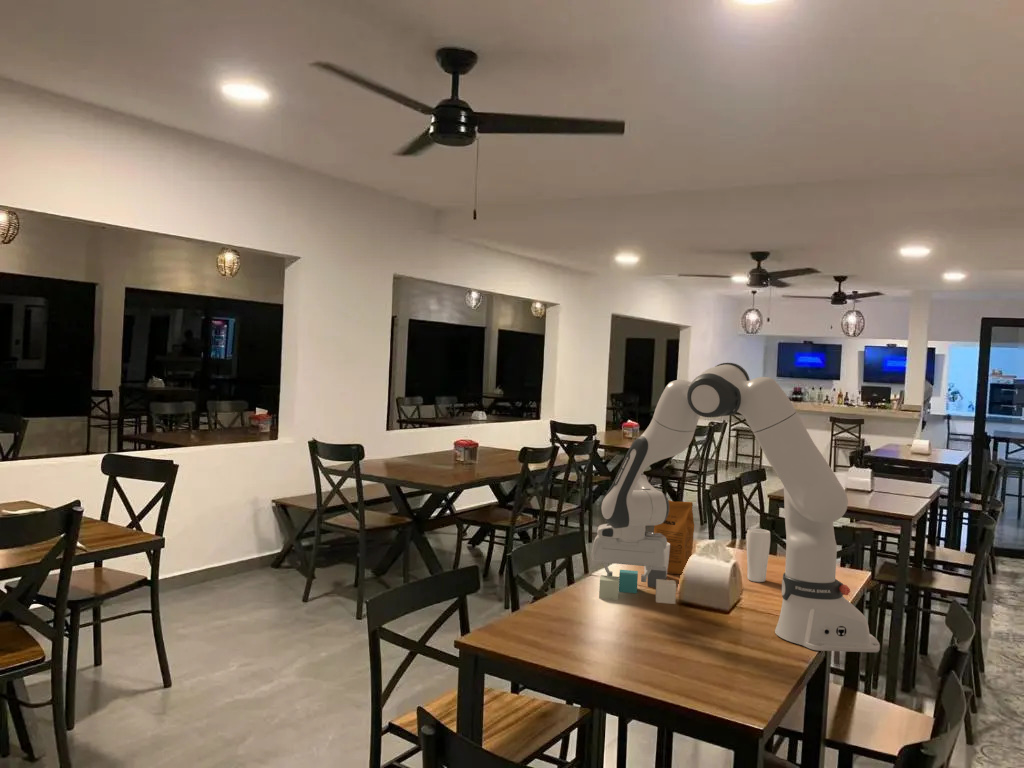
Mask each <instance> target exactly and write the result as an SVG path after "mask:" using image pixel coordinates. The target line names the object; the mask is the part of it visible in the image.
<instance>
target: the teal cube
mask: <svg viewBox="0 0 1024 768" xmlns="http://www.w3.org/2000/svg"><path fill="white" fill-rule="evenodd" d="M638 572H639V571H638V570H628V569H619V576H618V577H619V592H618V593H627V594H628V593H630V594H637V593H638V579H639V578H638V577H639V573H638Z"/></svg>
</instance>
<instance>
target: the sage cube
mask: <svg viewBox="0 0 1024 768" xmlns="http://www.w3.org/2000/svg"><path fill="white" fill-rule="evenodd" d="M598 587H599V589H598V592H599V593H598V599H603V600H613V601H619V593H620V592H619V576H614V575H612V576H607V575H603V574H601V575H600V578H599V586H598Z"/></svg>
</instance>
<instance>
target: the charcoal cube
mask: <svg viewBox="0 0 1024 768" xmlns="http://www.w3.org/2000/svg"><path fill="white" fill-rule="evenodd" d="M656 579H662V580H667V577H666V567H665V566H663V567H661V568H659V567H651V572H650V573H649V574H648V577H647V581H646V583H647V587H649V588H656Z"/></svg>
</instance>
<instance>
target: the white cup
mask: <svg viewBox="0 0 1024 768" xmlns="http://www.w3.org/2000/svg"><path fill="white" fill-rule="evenodd" d="M669 554H670V543H668V542H667V546H666V548H665V549H664V557H665V564H664V566H665V567H666V578H667V577H668V573H667V569H668V564H669ZM643 568H644V569H643V571H644V572H643V574H645V572H646V571H647V570H646V566H643ZM647 578H648V576H647Z"/></svg>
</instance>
